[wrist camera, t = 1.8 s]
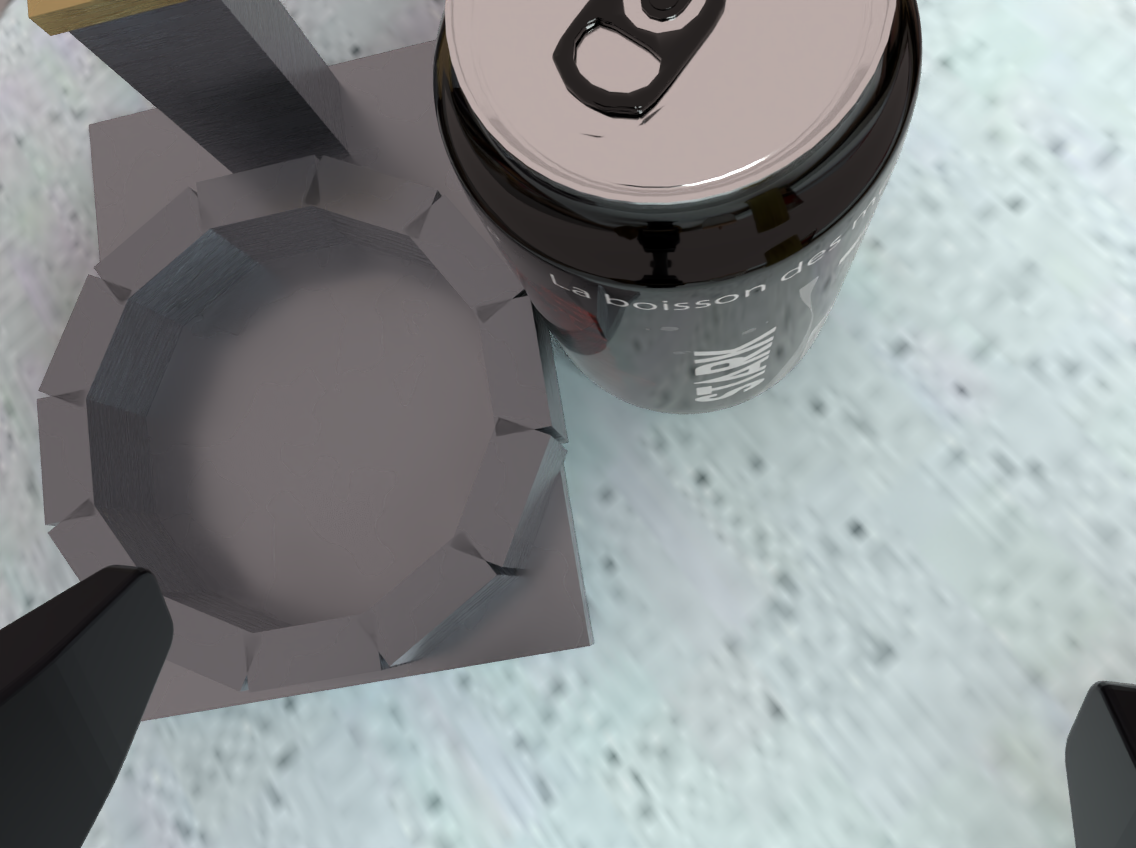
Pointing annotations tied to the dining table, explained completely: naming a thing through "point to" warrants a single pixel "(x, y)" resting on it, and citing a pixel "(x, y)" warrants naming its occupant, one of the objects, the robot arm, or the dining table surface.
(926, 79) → the dining table surface
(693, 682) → the dining table surface
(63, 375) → the keeper seat
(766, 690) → the dining table surface
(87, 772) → the robot arm
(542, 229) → the beverage can
